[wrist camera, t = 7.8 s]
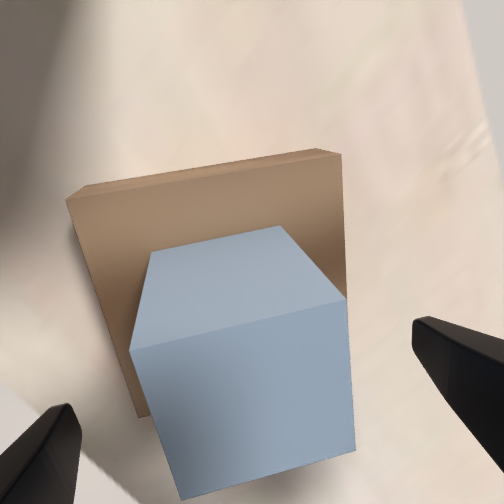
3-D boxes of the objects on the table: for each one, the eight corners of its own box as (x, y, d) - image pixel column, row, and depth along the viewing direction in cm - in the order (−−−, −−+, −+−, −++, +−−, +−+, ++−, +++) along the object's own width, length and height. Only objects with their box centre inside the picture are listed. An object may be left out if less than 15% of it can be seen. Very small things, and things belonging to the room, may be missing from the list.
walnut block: (323, 329, 18) (349, 366, 15) (145, 369, 17) (138, 418, 14) (311, 147, 15) (341, 154, 12) (88, 183, 14) (65, 200, 11)
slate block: (294, 331, 14) (355, 450, 9) (181, 359, 14) (181, 500, 9) (279, 225, 13) (346, 298, 7) (151, 252, 12) (128, 351, 7)
